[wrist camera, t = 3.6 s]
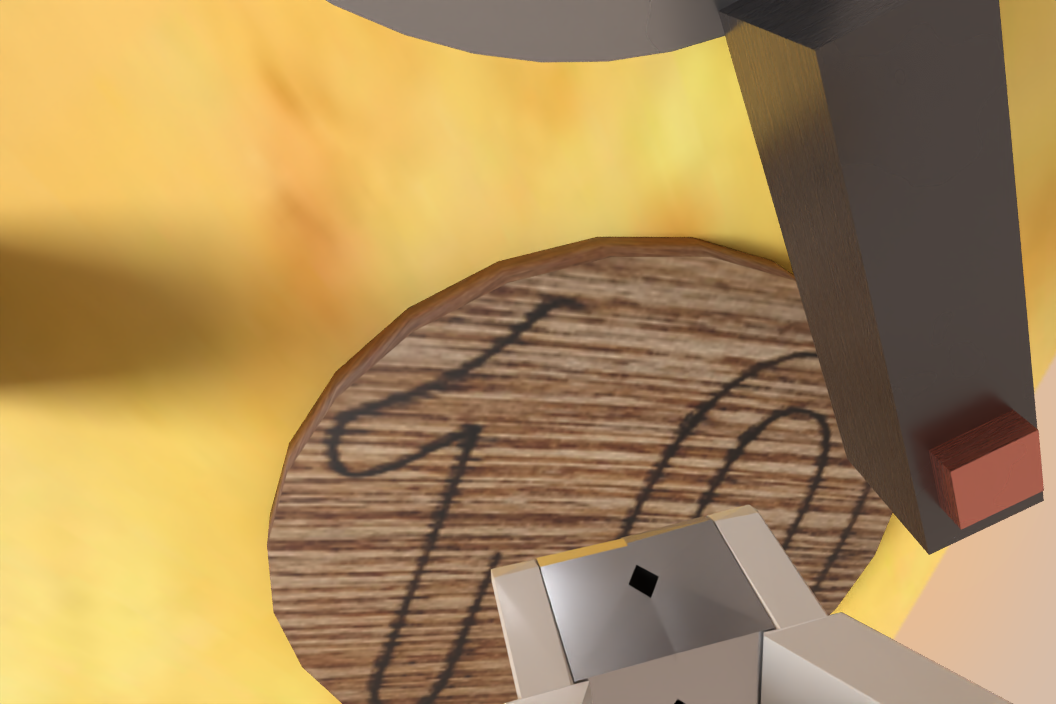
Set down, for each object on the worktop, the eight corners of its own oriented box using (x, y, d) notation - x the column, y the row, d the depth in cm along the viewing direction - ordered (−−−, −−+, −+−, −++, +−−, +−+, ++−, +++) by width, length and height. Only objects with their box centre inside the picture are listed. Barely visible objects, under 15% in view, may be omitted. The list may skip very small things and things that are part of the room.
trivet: (251, 727, 35) (247, 768, 34) (299, 178, 23) (297, 202, 22) (754, 704, 42) (770, 737, 41) (985, 274, 31) (1021, 298, 29)
